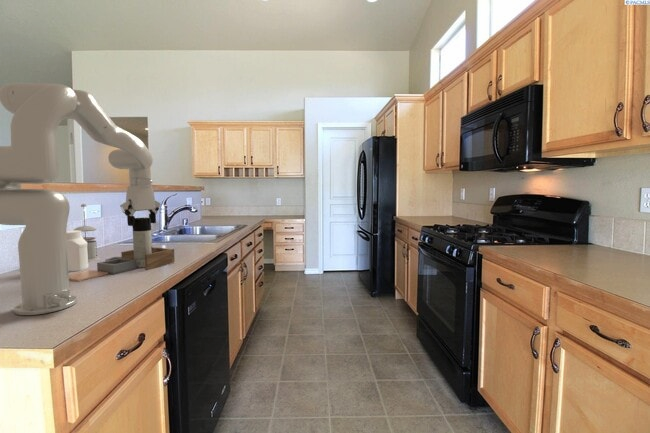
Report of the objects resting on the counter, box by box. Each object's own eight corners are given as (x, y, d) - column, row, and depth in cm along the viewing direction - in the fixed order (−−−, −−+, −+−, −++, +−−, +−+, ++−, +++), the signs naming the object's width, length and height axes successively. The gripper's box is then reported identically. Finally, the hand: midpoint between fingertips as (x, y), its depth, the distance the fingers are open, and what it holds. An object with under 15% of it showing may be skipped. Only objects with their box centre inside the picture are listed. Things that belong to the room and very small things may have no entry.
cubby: (174, 262, 134) (174, 249, 133) (147, 269, 122) (147, 254, 121) (150, 259, 139) (149, 246, 138) (121, 266, 126) (121, 252, 126)
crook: (145, 260, 138) (145, 257, 138) (137, 263, 132) (137, 260, 132) (114, 259, 138) (114, 256, 138) (105, 262, 133) (105, 259, 133)
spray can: (156, 265, 129) (154, 218, 127) (139, 268, 123) (137, 219, 121) (147, 263, 132) (145, 217, 131) (130, 266, 127) (128, 218, 125)
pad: (108, 274, 115) (107, 272, 115) (78, 281, 106) (78, 279, 106) (89, 271, 118) (89, 269, 118) (60, 278, 109) (60, 276, 109)
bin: (136, 268, 123) (135, 260, 123) (114, 274, 115) (113, 265, 114) (120, 266, 126) (119, 258, 126) (97, 271, 118) (97, 262, 117)
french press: (82, 263, 131) (79, 204, 129) (64, 261, 134) (60, 204, 132) (105, 258, 140) (102, 203, 138) (87, 256, 144) (84, 203, 142)
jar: (49, 274, 114) (46, 234, 112) (51, 269, 121) (49, 231, 120) (88, 269, 121) (86, 232, 119) (88, 264, 128) (86, 229, 127)
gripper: (152, 182, 134) (153, 221, 136) (112, 182, 118) (115, 226, 120) (165, 183, 132) (166, 222, 133) (126, 182, 116) (129, 227, 117)
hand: (142, 224), depth 127 cm, fingers open, 9 cm apart
